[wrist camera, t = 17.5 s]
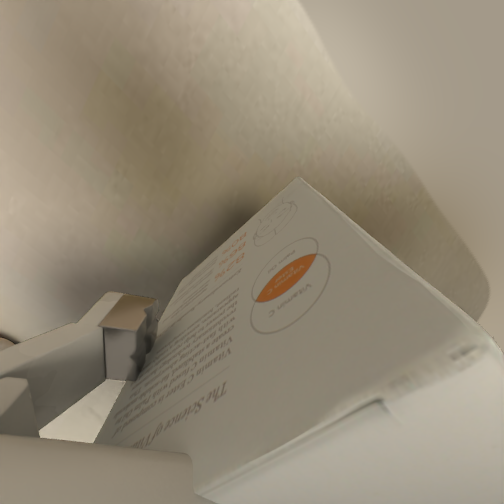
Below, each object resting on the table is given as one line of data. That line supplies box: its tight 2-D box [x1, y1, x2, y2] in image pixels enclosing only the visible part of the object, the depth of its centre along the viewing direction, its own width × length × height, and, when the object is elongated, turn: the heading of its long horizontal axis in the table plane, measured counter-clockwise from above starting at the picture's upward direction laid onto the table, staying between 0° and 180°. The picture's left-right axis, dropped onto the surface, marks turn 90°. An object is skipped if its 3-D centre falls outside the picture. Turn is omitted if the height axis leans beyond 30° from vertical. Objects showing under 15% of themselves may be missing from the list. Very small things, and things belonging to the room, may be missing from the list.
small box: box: [94, 177, 504, 504], centre depth 9 cm, size 8×6×10 cm
